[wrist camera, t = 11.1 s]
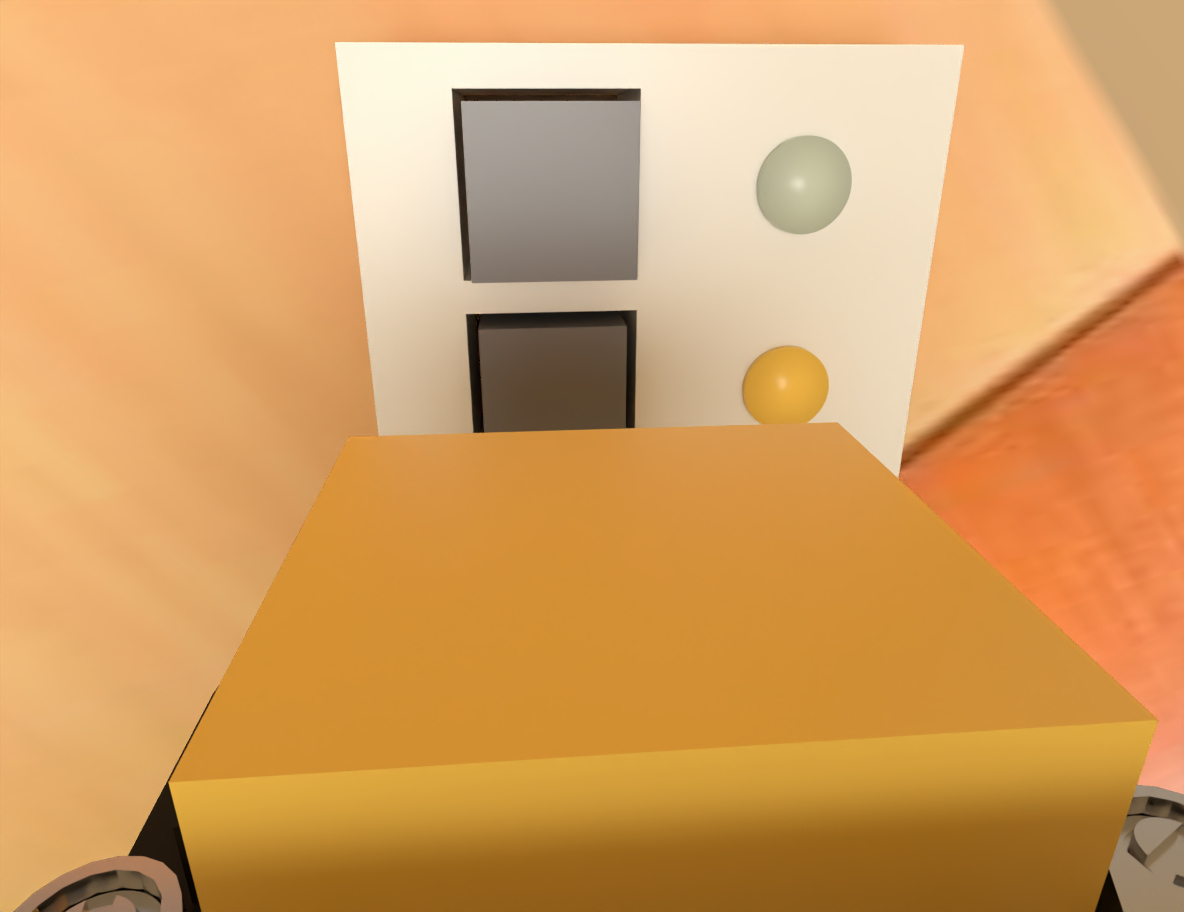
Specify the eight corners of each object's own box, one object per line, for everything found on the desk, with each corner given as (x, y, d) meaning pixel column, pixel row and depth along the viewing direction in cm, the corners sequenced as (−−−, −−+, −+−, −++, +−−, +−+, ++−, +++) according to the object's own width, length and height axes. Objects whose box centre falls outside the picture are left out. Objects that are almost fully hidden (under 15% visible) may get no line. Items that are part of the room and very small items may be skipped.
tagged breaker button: (608, 411, 25) (625, 462, 21) (490, 415, 25) (486, 467, 21) (609, 293, 23) (626, 326, 20) (483, 296, 23) (478, 329, 20)
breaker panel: (846, 429, 27) (912, 489, 22) (406, 444, 26) (384, 512, 21) (892, 59, 23) (984, 43, 18) (369, 57, 21) (332, 40, 17)
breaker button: (615, 253, 21) (637, 280, 18) (478, 255, 21) (471, 282, 18) (617, 104, 20) (640, 101, 16) (470, 105, 20) (461, 100, 16)
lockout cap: (791, 789, 12) (983, 1247, 7) (395, 817, 12) (307, 1326, 7) (837, 422, 10) (1159, 719, 5) (348, 436, 10) (168, 781, 5)
